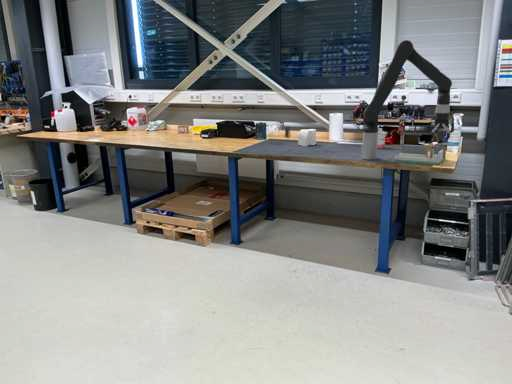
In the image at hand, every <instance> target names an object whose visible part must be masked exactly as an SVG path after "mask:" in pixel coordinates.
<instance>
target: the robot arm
mask: <svg viewBox="0 0 512 384" xmlns="http://www.w3.org/2000/svg"><path fill="white" fill-rule="evenodd" d="M406 61H408V62H410V63H411V64H412V65H414V66H415V68H417V69H418V71H420V72H421V73H422V74H423V75H424V76H425V77H427V78H428V79H429V80H430V81H432V82H433V83H434V84H435V85H436V86H437V97H436V98H437V99H436V101H437V102H436V108H435V120H434V121H429V125H428V132H430V133H431V136H430V137H431V139H435V133H436V131H437V129H438V130H445V131H446V132H447V133H446V140H449V139H450V138H451V134H452V133H454V131H455V122H454V121H450V112H451V110H450V108H451V107H450V105H451V94H450V93H451V87H452V85H453V82H452V80H451V78H450V77H448V76H447V75H446V74H444V73H443V72H441V71H440V70H439V68H438V67H436V66H435V65H434V64H433V63H432V62H430V61H429V60H427V59H426V58H424V56H422V55H420V53H419V52H418V51H417V50H416V49H415V48H414V44H413V42H411V40H408V39H404V40H401V41H400V42H399V43H398V44H397V46H396V51H395V53H394V55H393V57H392V60H391V62H390V63H389V64H388V66H387V68H386V69H385V70H384V73H383V74H382V76H381V78H380V80H379V82H378V84H377V86H376V90H375V92H374V94H373V95H374V96H373V98H372V99H371V101H370V102H369V105H368V106H367V107H366V108H365V109H364V111H363V114H362V115H363V120H362V121H363V122H362V144H361V151H360V152H361V154H360V160H361V159H363V160H369V161H370V160H378V148H377V143H378V131H379V130H378V128H379V116H380V113H381V111H382V109H383V107H384V104H385V102H386V101H387V99H388V98H389V96H390V94H391V93H392V91H393V89H394V87H395V85H396V84H397V81H398V79H399V77H400V75H401V71H402V70H403V67H404V65H405V63H407V62H406ZM433 125H434V128H433ZM448 126H450V128H449V127H448Z"/></svg>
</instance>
